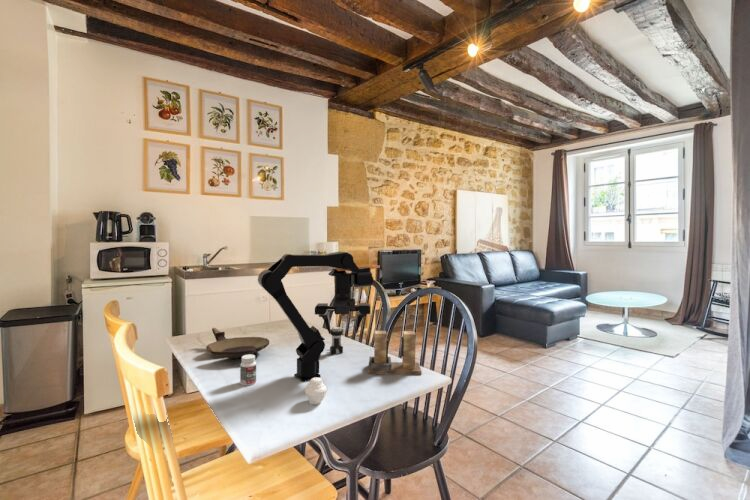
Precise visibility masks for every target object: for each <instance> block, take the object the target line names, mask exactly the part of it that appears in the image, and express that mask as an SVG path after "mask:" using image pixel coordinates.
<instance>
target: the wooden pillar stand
mask: <svg viewBox="0 0 750 500" xmlns="http://www.w3.org/2000/svg"><path fill="white" fill-rule="evenodd" d="M416 339H417V337H416V332H415V331H411V330H409V331H408V330H403V331H402V336H401V343H400V347H401V348H400V354H401V357H402V362H398V361H396V362H395V361H394V362H393V361H392V359H391V356H388V358H386V364H374V356H369V358H368V360H369V361H368V370H367V372H368V375H417V376H418V375H420V376H422V369H421V366H420V363H419V362H416V345H417V344H416V343H417V342H416Z"/></svg>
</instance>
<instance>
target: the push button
mask: <svg viewBox="0 0 750 500" xmlns="http://www.w3.org/2000/svg"><path fill="white" fill-rule="evenodd" d="M343 332H344V329H342V327H340V326H334V327H332V328H331V332H330V334H329V335H331V345H330V347H329V349H326V351H327V352H325V353H326V354H331V355H336V354H343V353H344V352H343V351H344V346H342V335H343Z"/></svg>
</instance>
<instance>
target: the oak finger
mask: <svg viewBox="0 0 750 500" xmlns="http://www.w3.org/2000/svg"><path fill="white" fill-rule="evenodd" d="M388 352H389V338H388V336H387V331H386V330H374V352H373V353H374V355H373V357H374V364H386V358H388V357H389V353H388Z"/></svg>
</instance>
